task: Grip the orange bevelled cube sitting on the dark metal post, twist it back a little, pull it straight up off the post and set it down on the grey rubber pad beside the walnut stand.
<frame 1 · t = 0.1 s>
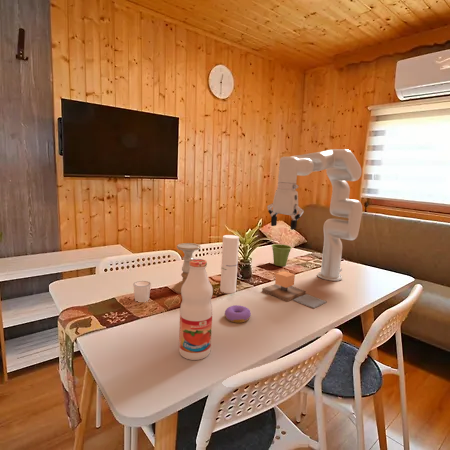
hand: (283, 227, 136), 31 cm above the table, tool pointing down, fingers open, 9 cm apart
donut: (237, 318, 118), on the table
orange bevelled cube: (284, 284, 145), point 4 cm above the table, touching post stand
shot glass: (141, 300, 130), on the table
plant pot: (280, 265, 190), on the table
candle holder: (187, 289, 144), on the table
fruit juice: (194, 352, 95), on the table
rubber pad: (309, 301, 137), on the table
cylindrical container: (228, 290, 145), on the table
post stand: (283, 292, 146), on the table
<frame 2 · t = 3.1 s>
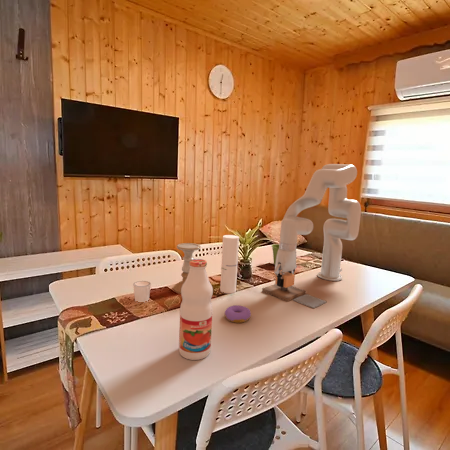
hand: (284, 284, 145), 4 cm above the table, tool pointing down, fingers closed on orange bevelled cube, 6 cm apart
orange bevelled cube: (284, 284, 145), point 4 cm above the table, touching gripper, post stand
everything else where it was.
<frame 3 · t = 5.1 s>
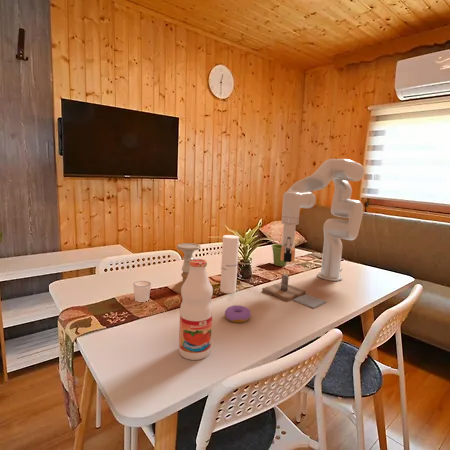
hand: (287, 259, 143), 16 cm above the table, tool pointing down, fingers closed on orange bevelled cube, 6 cm apart
orange bevelled cube: (287, 259, 143), point 16 cm above the table, touching gripper
everything else where it was.
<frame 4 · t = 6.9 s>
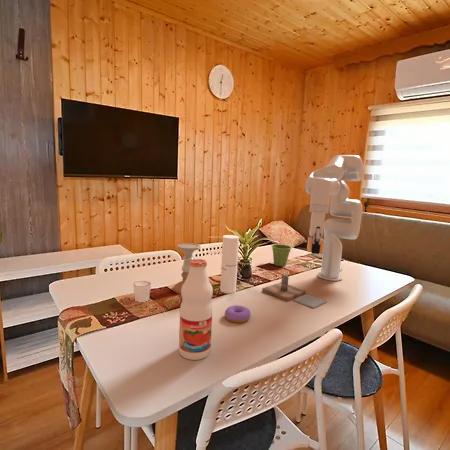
hand: (314, 251, 133), 22 cm above the table, tool pointing down, fingers closed on orange bevelled cube, 6 cm apart
orange bevelled cube: (314, 250, 133), point 22 cm above the table, touching gripper
everything else where it was.
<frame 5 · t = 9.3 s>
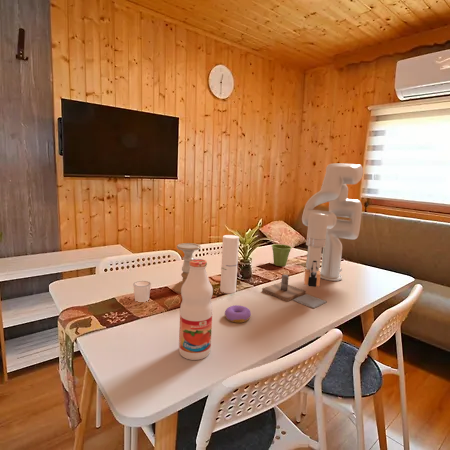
hand: (311, 283, 135), 8 cm above the table, tool pointing down, fingers closed on orange bevelled cube, 6 cm apart
orange bevelled cube: (311, 283, 135), point 8 cm above the table, touching gripper
everything else where it was.
when the fingers open (2 cm above the table, at t = 11.2 s): orange bevelled cube drops 1 cm, resting on rubber pad.
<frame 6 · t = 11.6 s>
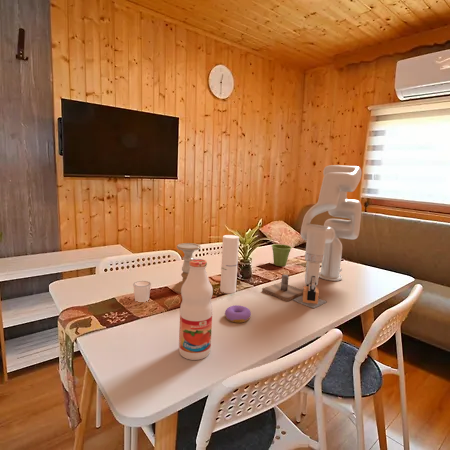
hand: (310, 295, 136), 3 cm above the table, tool pointing down, fingers open, 9 cm apart
orange bevelled cube: (309, 300, 137), point 1 cm above the table, touching rubber pad
everything else where it was.
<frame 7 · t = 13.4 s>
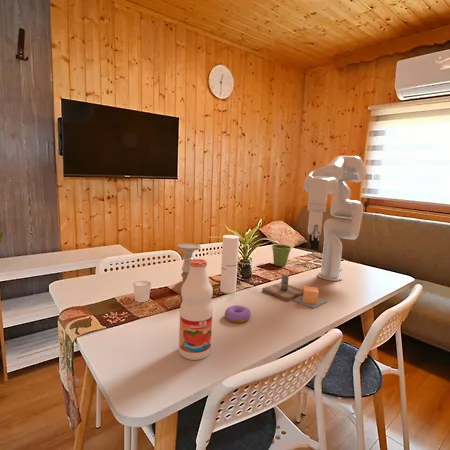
hand: (313, 246, 138), 23 cm above the table, tool pointing down, fingers open, 9 cm apart
nothing on the table moved.
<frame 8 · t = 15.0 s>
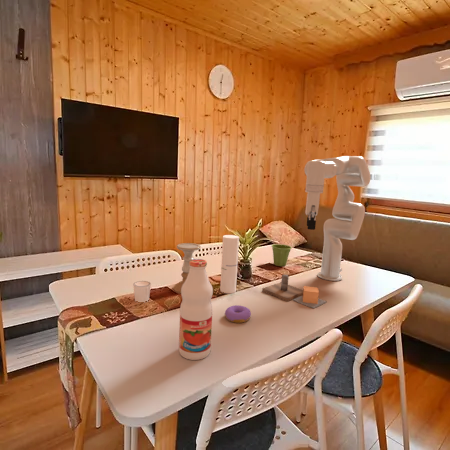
hand: (310, 227, 143), 30 cm above the table, tool pointing down, fingers open, 9 cm apart
nothing on the table moved.
at the end: orange bevelled cube inside the target area on the rubber pad (0.0 cm from its centre), point 0.6 cm above the rubber pad's base; orange bevelled cube touching rubber pad; orange bevelled cube tilted 0° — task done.
